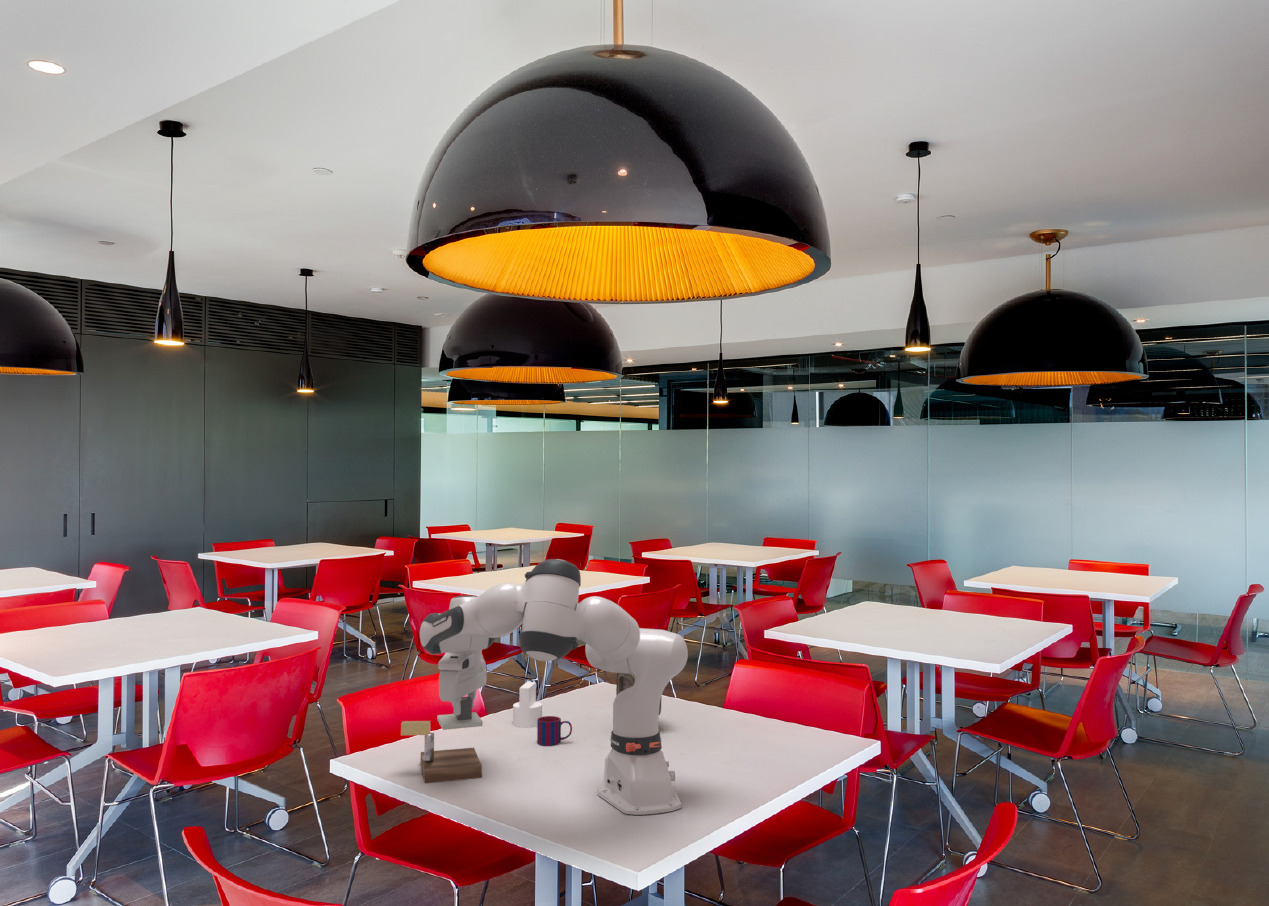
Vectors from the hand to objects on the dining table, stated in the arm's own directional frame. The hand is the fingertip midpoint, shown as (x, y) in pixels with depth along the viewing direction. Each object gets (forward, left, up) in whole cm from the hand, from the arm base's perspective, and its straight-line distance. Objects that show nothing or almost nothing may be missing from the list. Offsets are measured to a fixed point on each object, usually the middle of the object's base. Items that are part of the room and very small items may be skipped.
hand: (463, 711), depth 220 cm
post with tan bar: (-1, +12, -12) cm, 17 cm away
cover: (0, +1, -3) cm, 3 cm away
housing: (+1, +3, -15) cm, 15 cm away
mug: (+17, -28, -15) cm, 36 cm away
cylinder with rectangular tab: (+40, -24, -15) cm, 49 cm away
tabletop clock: (+24, -56, -15) cm, 63 cm away
